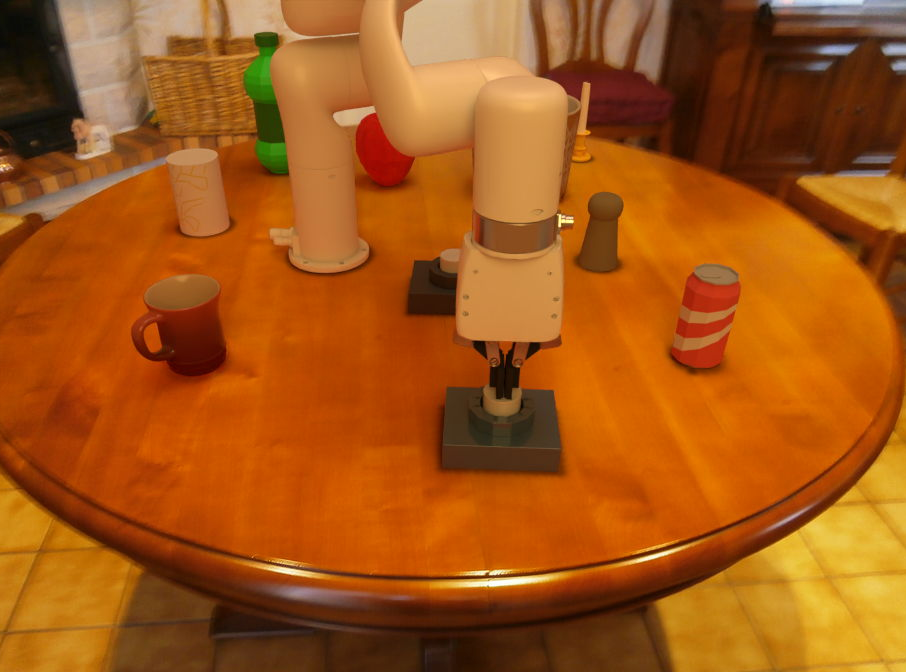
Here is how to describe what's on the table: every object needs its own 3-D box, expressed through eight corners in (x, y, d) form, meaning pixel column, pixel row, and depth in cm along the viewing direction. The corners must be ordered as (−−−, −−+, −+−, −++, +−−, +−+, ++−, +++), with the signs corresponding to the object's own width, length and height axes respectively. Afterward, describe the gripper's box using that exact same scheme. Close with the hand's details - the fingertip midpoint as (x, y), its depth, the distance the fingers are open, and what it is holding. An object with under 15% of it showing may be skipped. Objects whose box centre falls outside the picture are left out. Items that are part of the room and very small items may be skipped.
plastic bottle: (258, 161, 151) (239, 29, 137) (309, 159, 152) (296, 28, 138) (253, 179, 143) (233, 40, 129) (308, 176, 144) (294, 39, 130)
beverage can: (664, 344, 96) (682, 261, 89) (714, 345, 95) (736, 261, 88) (675, 371, 91) (695, 285, 84) (727, 372, 90) (752, 286, 83)
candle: (576, 152, 156) (585, 75, 147) (595, 158, 153) (606, 80, 144) (560, 157, 154) (568, 79, 145) (579, 163, 150) (588, 84, 141)
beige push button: (482, 417, 76) (483, 401, 75) (482, 394, 79) (483, 378, 78) (521, 418, 76) (522, 403, 75) (519, 395, 79) (521, 380, 78)
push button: (439, 274, 101) (439, 260, 100) (440, 261, 105) (440, 248, 103) (468, 275, 101) (468, 261, 100) (468, 261, 105) (469, 248, 103)
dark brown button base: (409, 313, 102) (408, 281, 99) (414, 279, 110) (414, 248, 107) (495, 316, 101) (497, 283, 98) (495, 281, 109) (496, 250, 107)
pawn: (617, 273, 112) (628, 204, 105) (576, 269, 113) (585, 201, 106) (617, 255, 116) (627, 189, 110) (578, 252, 117) (587, 185, 111)
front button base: (442, 468, 76) (442, 431, 73) (446, 408, 85) (446, 373, 82) (558, 472, 76) (563, 435, 73) (551, 412, 84) (555, 376, 81)
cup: (170, 231, 123) (154, 161, 116) (200, 213, 130) (187, 145, 123) (210, 239, 121) (197, 168, 114) (239, 220, 127) (228, 152, 120)
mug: (200, 337, 97) (184, 267, 91) (249, 357, 93) (236, 285, 87) (125, 383, 88) (102, 309, 82) (175, 406, 85) (156, 331, 79)
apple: (384, 167, 149) (381, 99, 141) (431, 179, 143) (431, 109, 135) (345, 184, 141) (340, 113, 133) (393, 198, 135) (390, 125, 128)
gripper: (593, 211, 68) (572, 373, 79) (432, 208, 69) (433, 369, 80) (604, 246, 62) (579, 416, 73) (427, 242, 63) (429, 411, 74)
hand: (503, 391), depth 76 cm, fingers closed
